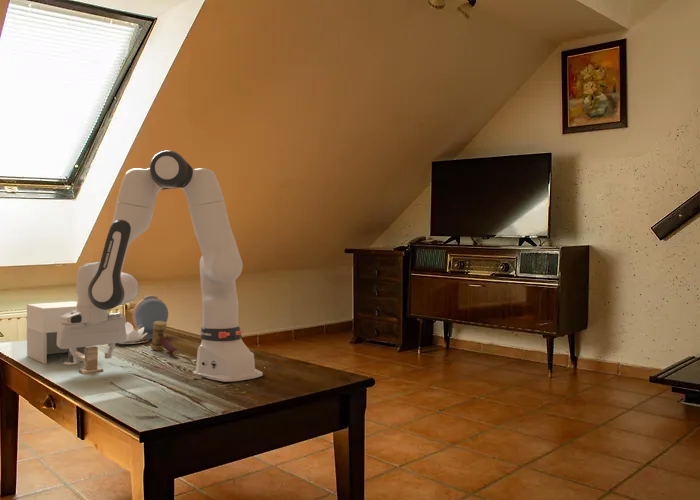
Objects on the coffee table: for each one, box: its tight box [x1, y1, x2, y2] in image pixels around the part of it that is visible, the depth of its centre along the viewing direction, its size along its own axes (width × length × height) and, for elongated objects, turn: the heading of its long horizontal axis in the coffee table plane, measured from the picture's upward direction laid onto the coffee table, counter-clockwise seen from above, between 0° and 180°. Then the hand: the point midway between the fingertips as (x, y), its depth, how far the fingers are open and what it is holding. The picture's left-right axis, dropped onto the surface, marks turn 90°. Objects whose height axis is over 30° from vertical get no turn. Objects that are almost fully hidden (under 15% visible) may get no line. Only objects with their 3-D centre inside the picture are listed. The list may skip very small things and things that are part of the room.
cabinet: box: [26, 301, 90, 365], centre depth 219 cm, size 19×16×18 cm
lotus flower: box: [118, 321, 150, 345], centre depth 246 cm, size 14×15×9 cm
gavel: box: [150, 321, 179, 357], centre depth 227 cm, size 21×5×10 cm, turn 36°
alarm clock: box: [131, 295, 169, 341], centre depth 260 cm, size 14×10×18 cm
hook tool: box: [67, 345, 104, 375], centre depth 201 cm, size 19×6×8 cm, turn 42°
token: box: [62, 359, 80, 366], centre depth 209 cm, size 5×5×1 cm
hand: (92, 360), depth 195 cm, fingers open, 8 cm apart
